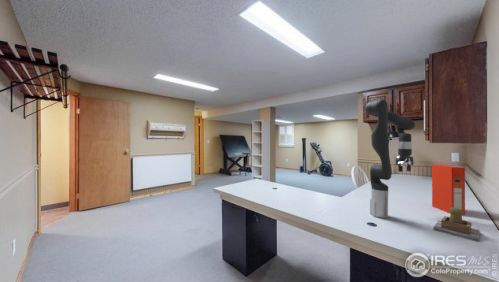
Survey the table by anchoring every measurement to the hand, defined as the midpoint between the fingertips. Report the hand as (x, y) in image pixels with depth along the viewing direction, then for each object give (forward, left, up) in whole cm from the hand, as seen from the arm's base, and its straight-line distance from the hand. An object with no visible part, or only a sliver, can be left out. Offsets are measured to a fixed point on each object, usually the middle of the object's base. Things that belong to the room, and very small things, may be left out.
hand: (404, 171), depth 138 cm
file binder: (+33, +8, -28) cm, 44 cm away
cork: (+8, -30, -27) cm, 41 cm away
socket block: (+8, -30, -28) cm, 42 cm away
